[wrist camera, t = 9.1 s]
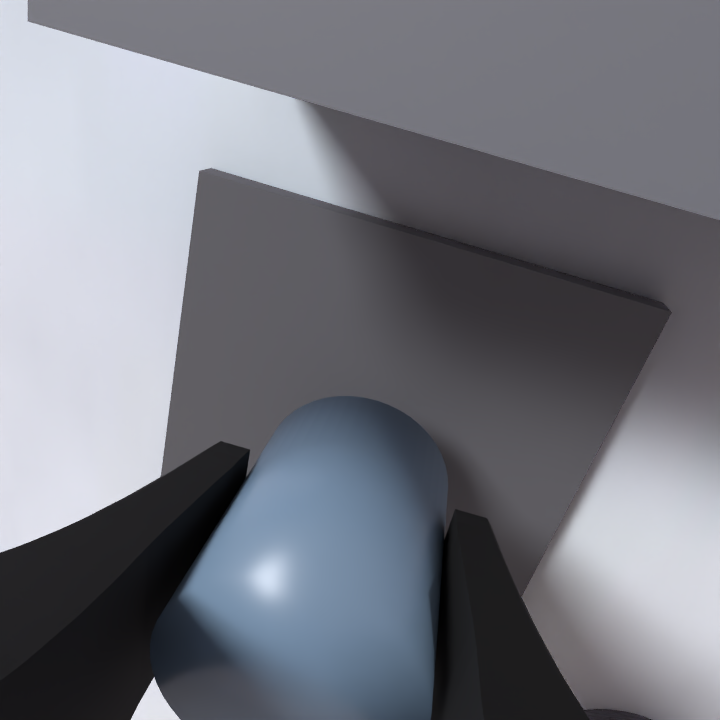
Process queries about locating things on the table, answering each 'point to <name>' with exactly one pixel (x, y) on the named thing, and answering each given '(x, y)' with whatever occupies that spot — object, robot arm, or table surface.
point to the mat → (403, 349)
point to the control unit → (468, 74)
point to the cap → (612, 715)
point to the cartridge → (316, 578)
